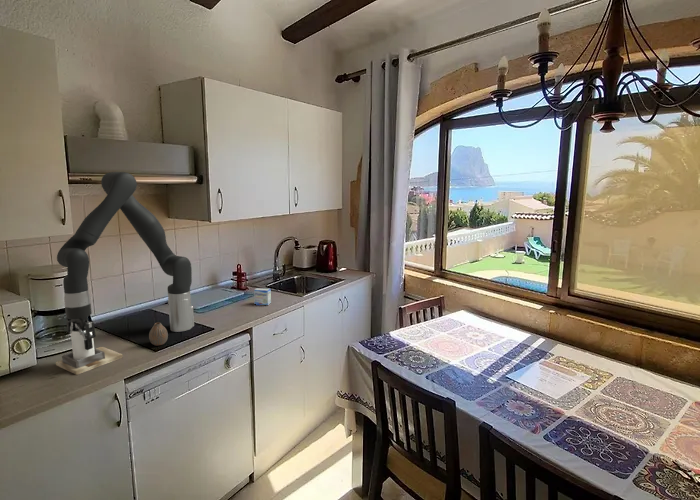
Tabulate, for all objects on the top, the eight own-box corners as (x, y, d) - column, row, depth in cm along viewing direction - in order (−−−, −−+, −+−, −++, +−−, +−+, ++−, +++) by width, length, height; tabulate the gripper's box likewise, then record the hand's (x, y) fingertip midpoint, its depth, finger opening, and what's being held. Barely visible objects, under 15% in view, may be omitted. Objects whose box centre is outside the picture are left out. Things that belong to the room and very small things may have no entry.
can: (84, 364, 140) (81, 332, 138) (69, 362, 141) (65, 330, 139) (99, 356, 146) (96, 326, 144) (84, 355, 147) (81, 324, 145)
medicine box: (254, 305, 213) (253, 289, 212) (257, 302, 218) (257, 287, 216) (268, 306, 212) (267, 290, 211) (271, 303, 216) (270, 288, 215)
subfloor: (102, 349, 156) (101, 340, 155) (122, 357, 149) (122, 348, 148) (56, 365, 142) (54, 355, 141) (76, 374, 135) (75, 364, 135)
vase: (172, 341, 164) (170, 321, 162) (159, 348, 157) (157, 327, 156) (159, 339, 166) (157, 319, 165) (145, 345, 160) (144, 325, 158)
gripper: (100, 303, 140) (104, 347, 142) (78, 297, 147) (83, 339, 149) (76, 309, 133) (82, 354, 136) (55, 302, 140) (60, 346, 143)
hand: (82, 346), depth 143 cm, fingers open, 8 cm apart
